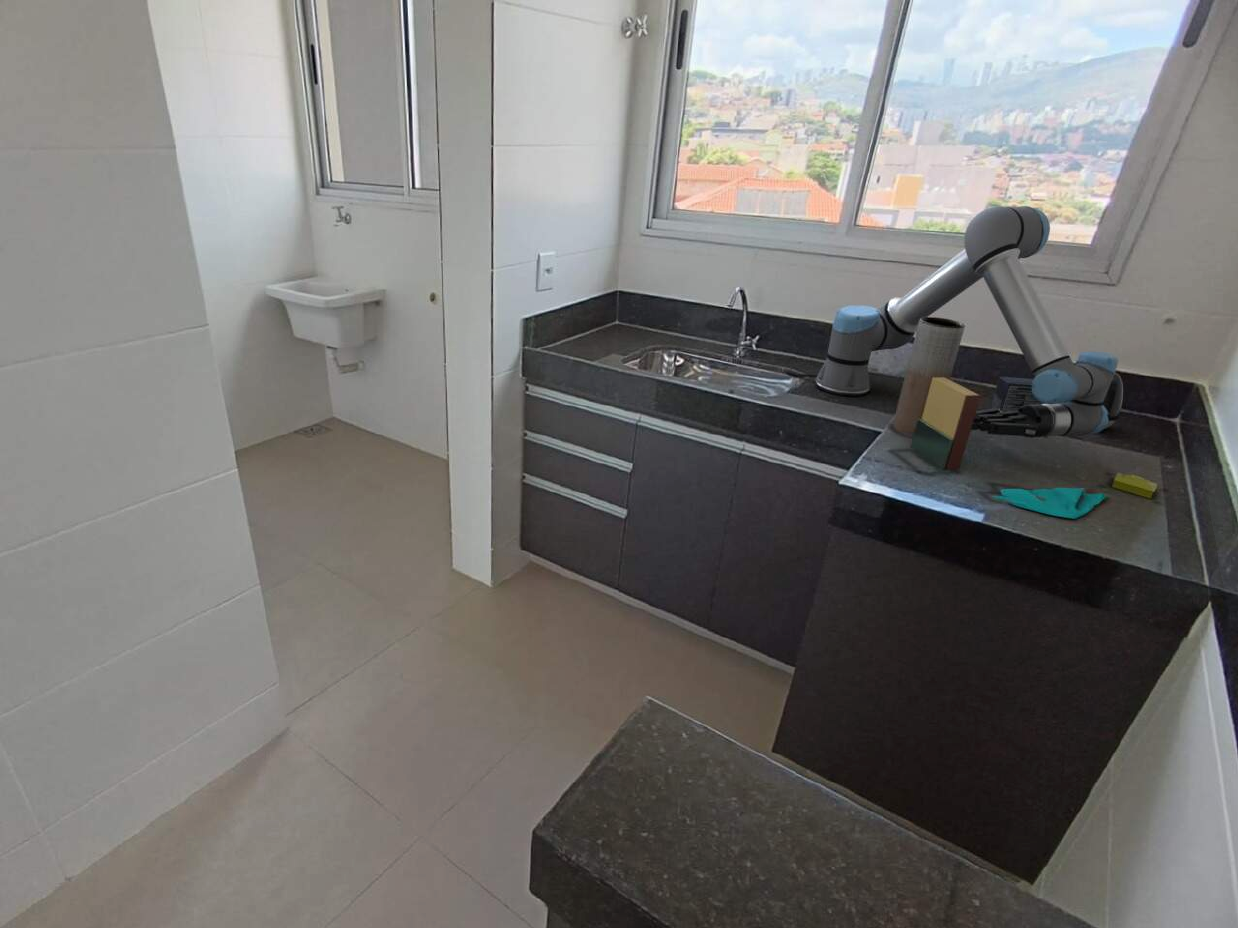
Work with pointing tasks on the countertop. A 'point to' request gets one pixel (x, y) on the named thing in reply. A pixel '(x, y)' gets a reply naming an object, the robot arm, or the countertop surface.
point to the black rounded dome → (1114, 399)
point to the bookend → (931, 444)
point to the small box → (1013, 394)
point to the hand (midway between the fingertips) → (952, 423)
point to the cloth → (1053, 500)
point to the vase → (927, 367)
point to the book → (951, 415)
